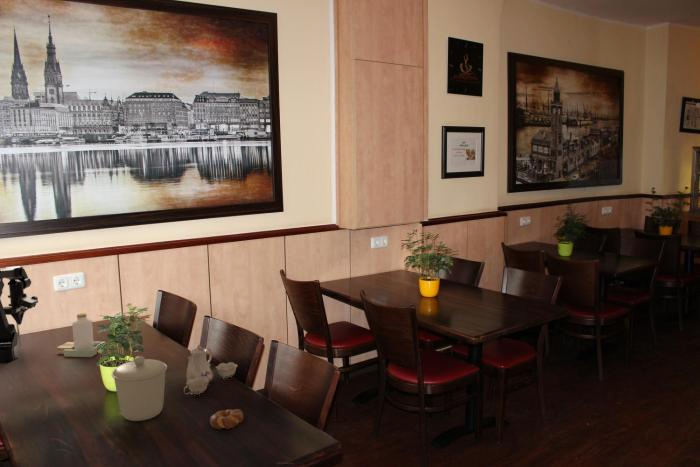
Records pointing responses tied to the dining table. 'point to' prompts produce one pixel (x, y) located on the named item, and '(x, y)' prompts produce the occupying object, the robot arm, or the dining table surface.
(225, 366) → the chinaware
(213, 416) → the braided ring pastry
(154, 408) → the canister
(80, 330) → the potion bottle
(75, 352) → the tray frame
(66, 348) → the oak block
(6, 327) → the robot arm
